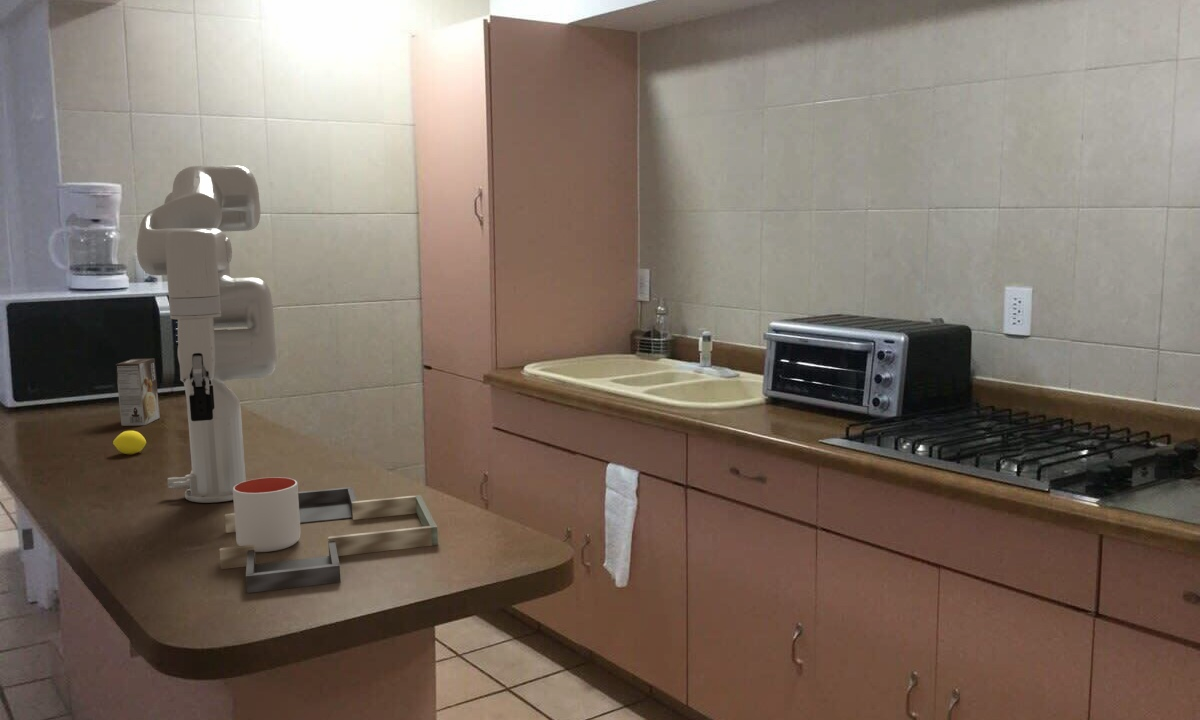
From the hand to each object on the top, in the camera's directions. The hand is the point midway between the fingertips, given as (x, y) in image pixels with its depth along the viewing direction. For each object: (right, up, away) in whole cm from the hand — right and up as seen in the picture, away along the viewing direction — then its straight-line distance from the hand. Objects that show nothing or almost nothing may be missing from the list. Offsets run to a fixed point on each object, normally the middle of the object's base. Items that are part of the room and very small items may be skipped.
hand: (203, 415), depth 169 cm
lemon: (-42, -13, +69) cm, 82 cm away
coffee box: (-56, -8, +105) cm, 119 cm away
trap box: (+19, -21, +6) cm, 28 cm away
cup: (+10, -22, +3) cm, 24 cm away
